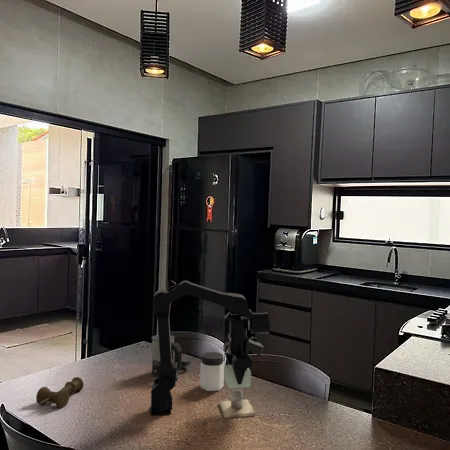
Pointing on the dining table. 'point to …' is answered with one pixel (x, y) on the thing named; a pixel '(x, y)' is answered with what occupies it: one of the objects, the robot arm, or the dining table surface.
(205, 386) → the jar
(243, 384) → the sleeve
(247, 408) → the knob on square plate
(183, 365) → the milk frother
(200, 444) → the dining table surface
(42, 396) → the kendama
